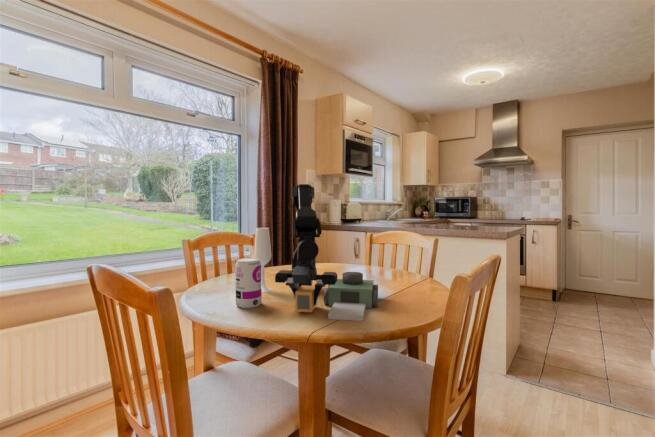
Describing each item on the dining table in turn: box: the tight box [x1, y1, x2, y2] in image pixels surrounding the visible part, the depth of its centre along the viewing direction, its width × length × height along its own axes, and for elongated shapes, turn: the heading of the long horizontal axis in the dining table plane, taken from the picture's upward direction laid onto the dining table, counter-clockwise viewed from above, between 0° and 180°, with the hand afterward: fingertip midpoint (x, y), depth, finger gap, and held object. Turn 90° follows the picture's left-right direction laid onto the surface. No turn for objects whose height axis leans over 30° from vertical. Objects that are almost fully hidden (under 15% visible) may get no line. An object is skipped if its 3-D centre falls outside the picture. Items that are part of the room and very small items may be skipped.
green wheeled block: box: [323, 271, 379, 322], centre depth 107 cm, size 17×25×9 cm
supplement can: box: [234, 257, 263, 309], centre depth 109 cm, size 8×8×15 cm
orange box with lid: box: [294, 285, 318, 313], centre depth 104 cm, size 5×8×6 cm, turn 170°
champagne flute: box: [253, 227, 273, 294], centre depth 127 cm, size 7×7×24 cm
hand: (306, 304), depth 104 cm, fingers closed on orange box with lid, 5 cm apart
